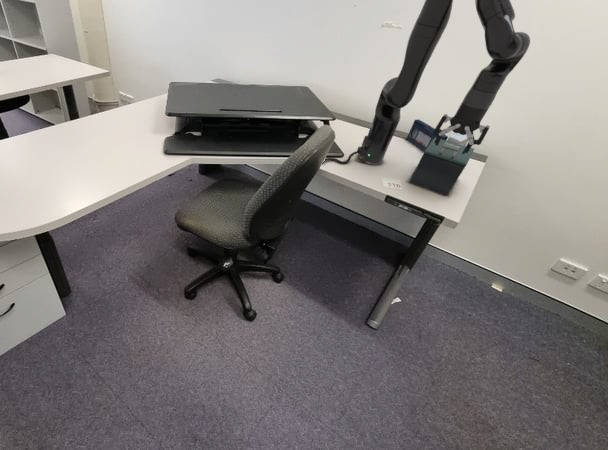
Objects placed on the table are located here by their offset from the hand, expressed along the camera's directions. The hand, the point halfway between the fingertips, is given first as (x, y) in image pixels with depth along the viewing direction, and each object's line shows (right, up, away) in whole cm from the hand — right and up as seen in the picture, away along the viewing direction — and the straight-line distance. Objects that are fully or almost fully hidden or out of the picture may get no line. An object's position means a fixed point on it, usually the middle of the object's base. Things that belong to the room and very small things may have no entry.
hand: (449, 149), depth 116 cm
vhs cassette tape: (+13, +9, +36) cm, 40 cm away
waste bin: (+4, -9, +15) cm, 18 cm away
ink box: (+18, +1, +27) cm, 33 cm away
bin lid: (+4, 0, +6) cm, 7 cm away
